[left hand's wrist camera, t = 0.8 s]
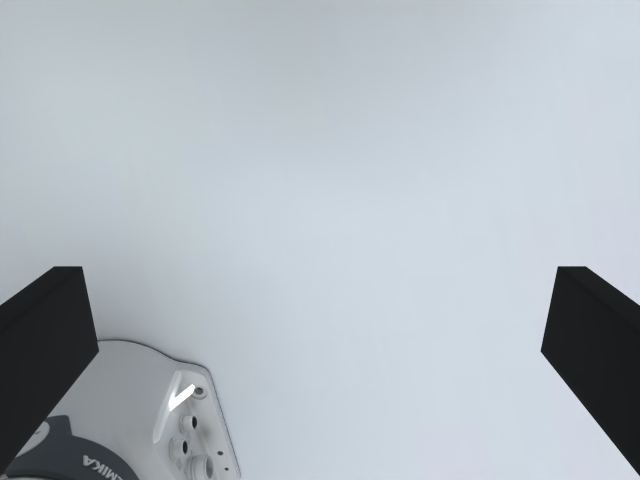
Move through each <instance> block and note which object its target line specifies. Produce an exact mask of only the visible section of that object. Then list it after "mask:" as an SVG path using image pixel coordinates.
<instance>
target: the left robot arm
mask: <svg viewBox="0 0 640 480" xmlns="http://www.w3.org/2000/svg"><path fill="white" fill-rule="evenodd" d="M98 352H99V347H98V342H97V337H96V332H95V327H94V323H93V318H92V313H91V308H90V303H89V298H88V293H87V288H86V283H85V278H84V274H83V269H82V266H54V267H53V268H51V269H50V270H49V271H47V272H46V273H45V274H43V275H42V276H40V277H39V278H38V279H36V280H35V281H34V282H32V283H31V284H29V285H28V286H27V287H25V288H24V289H22V290H21V291H20V292H18V293H17V294H16V295H14V296H13V297H11V298H10V299H9V300H7V301H6V302H5V303H3V304H2V305H0V476H1V474H2V473H3V472H4V471H5V469H6V468H7V467H8V466H9V464H10V463H11V462H12V461H13V459H14V458H15V457H16V456H17V454H18V453H19V452H20V451H21V449H22V448H23V447H24V446H25V444H26V443H27V442H28V440H29V439H30V438H31V437H32V435H33V434H34V433H35V432H36V430H37V429H38V428H39V427H40V425H41V424H42V423H43V422H44V420H45V419H46V418H47V417H48V415H49V414H50V413H51V412H52V410H53V409H54V408H55V407H56V405H57V404H58V403H59V402H60V400H61V399H62V398H63V396H64V395H65V394H66V393H67V391H68V390H69V389H70V388H71V386H72V385H73V384H74V383H75V381H76V380H77V379H78V378H79V376H80V375H81V374H82V373H83V371H84V370H85V369H86V368H87V366H88V365H89V364H90V363H91V361H92V360H93V359H94V358H95V356H96V355H97V354H98ZM541 352H542V354H543V355H544V356H545V358H546V359H547V360H548V361H549V363H550V364H551V365H552V366H553V368H554V369H555V370H556V371H557V373H558V374H559V375H560V376H561V378H562V379H563V380H564V381H565V383H566V384H567V385H568V386H569V388H570V389H571V390H572V391H573V393H574V394H575V395H576V396H577V398H578V399H579V400H580V402H581V403H582V404H583V405H584V407H585V408H586V409H587V410H588V412H589V413H590V414H591V415H592V417H593V418H594V419H595V420H596V422H597V423H598V424H599V425H600V427H601V428H602V429H603V430H604V432H605V433H606V434H607V435H608V437H609V438H610V439H611V441H612V442H613V443H614V444H615V446H616V447H617V448H618V449H619V451H620V452H621V453H622V454H623V456H624V457H625V458H626V459H627V461H628V462H629V463H630V464H631V466H632V467H633V468H634V469H635V471H636V472H637V473H638V474H639V476H640V305H638V304H637V303H635V302H634V301H633V300H631V299H630V298H629V297H627V296H626V295H624V294H623V293H622V292H620V291H619V290H618V289H616V288H615V287H613V286H612V285H611V284H609V283H608V282H606V281H605V280H604V279H602V278H601V277H600V276H598V275H597V274H595V273H594V272H593V271H591V270H590V269H589V268H587V267H586V266H558V269H557V274H556V278H555V283H554V288H553V293H552V298H551V303H550V308H549V313H548V318H547V323H546V327H545V332H544V337H543V342H542V347H541Z"/></svg>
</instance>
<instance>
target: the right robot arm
mask: <svg viewBox="0 0 640 480" xmlns="http://www.w3.org/2000/svg"><path fill="white" fill-rule="evenodd" d="M98 347H99V352H98V354H97V355H96V356H95V358H94V359H93V360H92V361H91V363H90V364H89V365H88V366H87V368H86V369H85V370H84V371H83V373H82V374H81V375H80V376H79V378H78V379H77V380H76V381H75V383H74V384H73V385H72V386H71V388H70V389H69V390H68V391H67V393H66V394H65V395H64V396H63V398H62V399H61V400H60V402H59V403H58V404H57V405H56V407H55V408H54V409H53V410H52V412H51V413H50V414H49V415H48V417H47V418H46V419H45V420H44V422H43V423H42V424H41V425H40V427H39V428H38V429H37V430H36V432H35V433H34V434H33V435H32V437H31V438H30V439H29V440H28V442H27V443H26V444H25V446H24V447H23V448H22V449H21V451H20V452H19V453H18V454H17V456H16V457H15V458H14V459H13V461H12V462H11V463H10V464H9V466H8V467H7V468H6V469H5V471H4V472H3V473H2V474H1V476H0V480H240V477H241V476H240V471H239V468H238V464H237V461H236V458H235V454H234V451H233V448H232V445H231V441H230V438H229V435H228V431H227V428H226V425H225V422H224V418H223V415H222V412H221V408H220V405H219V402H218V399H217V395H216V392H215V389H214V385H213V382H212V379H211V376H210V373H209V372H208V371H207V370H206V369H205V368H203V367H201V366H198V365H194V364H189V363H183V362H177V361H175V360H172V359H170V358H168V357H167V356H165V355H163V354H161V353H159V352H158V351H156V350H153V349H151V348H149V347H146V346H143V345H140V344H137V343H132V342H127V341H114V340H112V341H100V342H98ZM198 387H199V388H202V389H203V390H199V389H198Z"/></svg>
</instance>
